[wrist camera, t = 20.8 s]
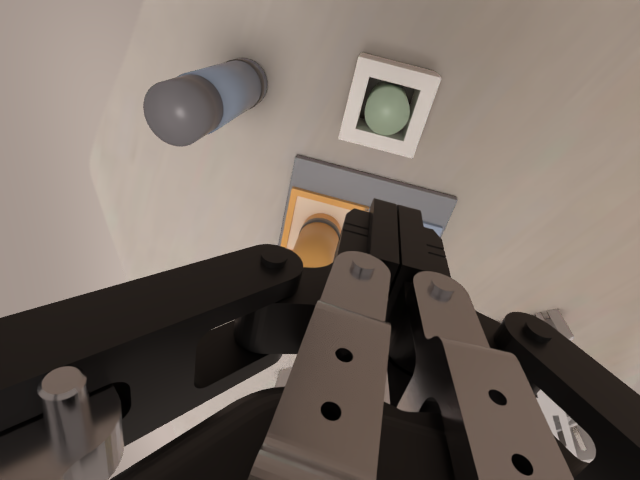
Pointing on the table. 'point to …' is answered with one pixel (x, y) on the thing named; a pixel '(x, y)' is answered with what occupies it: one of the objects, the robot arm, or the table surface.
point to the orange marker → (318, 240)
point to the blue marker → (203, 100)
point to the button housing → (419, 106)
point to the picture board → (353, 197)
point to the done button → (387, 108)
